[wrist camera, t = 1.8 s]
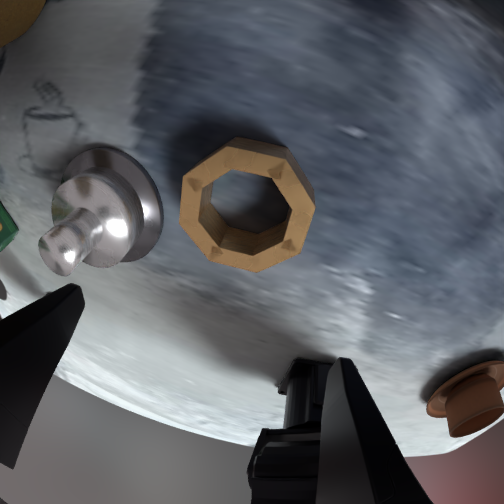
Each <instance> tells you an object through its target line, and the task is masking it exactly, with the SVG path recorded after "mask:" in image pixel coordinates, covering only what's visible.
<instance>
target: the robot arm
mask: <svg viewBox="0 0 504 504" xmlns="http://www.w3.org/2000/svg"><path fill="white" fill-rule="evenodd" d="M84 307H85V301H84V297H83V293H82V289H81V287H80V286H78V285H76V284H73V283H70V284H67V285H65V286H63V287H61V288H59V289H58V290H56V291H54V292H52V293H50V294H48V295H46V296H44V297H42V298H40V299H38V300H37V301H35V302H33V303H31V304H29V305H27V306H25V307H24V308H22V309H20V310H18V311H16V312H14V313H13V314H11V315H9V316H7V317H5V318H4V319H2V320H0V463H2V464H3V465H5V466H7V467H9V468H11V469H14V467H15V464H16V461H17V458H18V455H19V452H20V449H21V447H22V444H23V442H24V439H25V436H26V434H27V431H28V428H29V426H30V424H31V421H32V419H33V416H34V414H35V412H36V409H37V407H38V405H39V403H40V400H41V398H42V396H43V394H44V392H45V389H46V387H47V385H48V383H49V381H50V379H51V377H52V375H53V373H54V371H55V369H56V367H57V365H58V363H59V361H60V359H61V357H62V355H63V354H64V352H65V350H66V348H67V346H68V344H69V342H70V340H71V337H72V335H73V333H74V330H75V328H76V326H77V323H78V321H79V319H80V316H81V314H82V312H83V310H84ZM278 393H279V394H282V395H287V397H286V406H285V415H284V424H283V429H269V428H262V430H261V433H260V436H259V437H258V440H257V443H256V446H255V448H254V451H253V454H252V457H251V460H250V462H249V465H248V468H247V475H248V482H249V486H250V488H251V489H252V500H251V504H433V502H432V501H431V500H430V499H429V497H428V496H427V494H426V493H425V491H424V489H423V488H422V486H421V485H420V483H419V482H418V480H417V479H416V477H415V476H414V474H413V472H412V471H411V469H410V468H409V466H408V464H407V462H406V461H405V459H404V457H403V455H402V453H401V451H400V449H399V447H398V445H397V444H396V442H395V440H394V438H393V436H392V434H391V432H390V430H389V428H388V426H387V424H386V422H385V421H384V419H383V417H382V415H381V413H380V411H379V409H378V407H377V406H376V404H375V402H374V400H373V398H372V396H371V394H370V392H369V391H368V389H367V387H366V385H365V383H364V381H363V380H362V378H361V376H360V374H359V372H358V369H357V368H356V367H355V365H354V363H353V361H352V360H351V359H349V358H343V357H339V358H338V359H337V360H336V362H335V363H334V364H327V363H321V362H316V361H310V360H305V359H295V360H294V361H293V363H292V364H291V366H290V368H289V370H288V372H287V374H286V375H285V377H284V379H283V381H282V382H281V384H280V386H279V388H278ZM0 504H7V503H6V502H5V501H4V500H3V499H1V498H0Z"/></svg>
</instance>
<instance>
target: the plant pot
mask: <svg viewBox="0 0 504 504" xmlns="http://www.w3.org/2000/svg"><path fill="white" fill-rule="evenodd" d="M45 2H46V0H0V48H1V47H3V46H5V45H6V44H8V43H10V42H11V41H13V40H15V39H16V38H18V37H20V36H21V35H23V34H24V33H25V32H26V31H27V30H28V29H29V28H30V27H31V26H32V24H33V23H34V22H35V20H36V19H37V17H38V16H39V14H40V12H41V10H42V8H43V6H44V4H45Z"/></svg>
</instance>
